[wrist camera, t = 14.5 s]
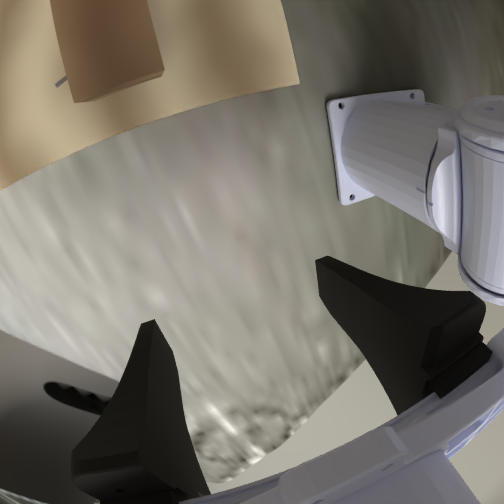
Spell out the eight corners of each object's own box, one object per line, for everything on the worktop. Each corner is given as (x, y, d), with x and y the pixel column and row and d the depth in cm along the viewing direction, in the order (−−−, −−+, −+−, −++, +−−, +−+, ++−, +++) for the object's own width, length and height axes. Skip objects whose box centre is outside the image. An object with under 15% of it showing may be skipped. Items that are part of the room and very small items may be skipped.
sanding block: (132, -38, 11) (130, -75, 7) (161, 76, 15) (164, 69, 11) (66, -14, 10) (43, -43, 6) (94, 101, 15) (74, 103, 10)
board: (250, -79, 12) (255, -85, 11) (293, 84, 18) (299, 83, 18) (-38, 21, 9) (-45, 19, 8) (3, 187, 15) (-3, 192, 15)
